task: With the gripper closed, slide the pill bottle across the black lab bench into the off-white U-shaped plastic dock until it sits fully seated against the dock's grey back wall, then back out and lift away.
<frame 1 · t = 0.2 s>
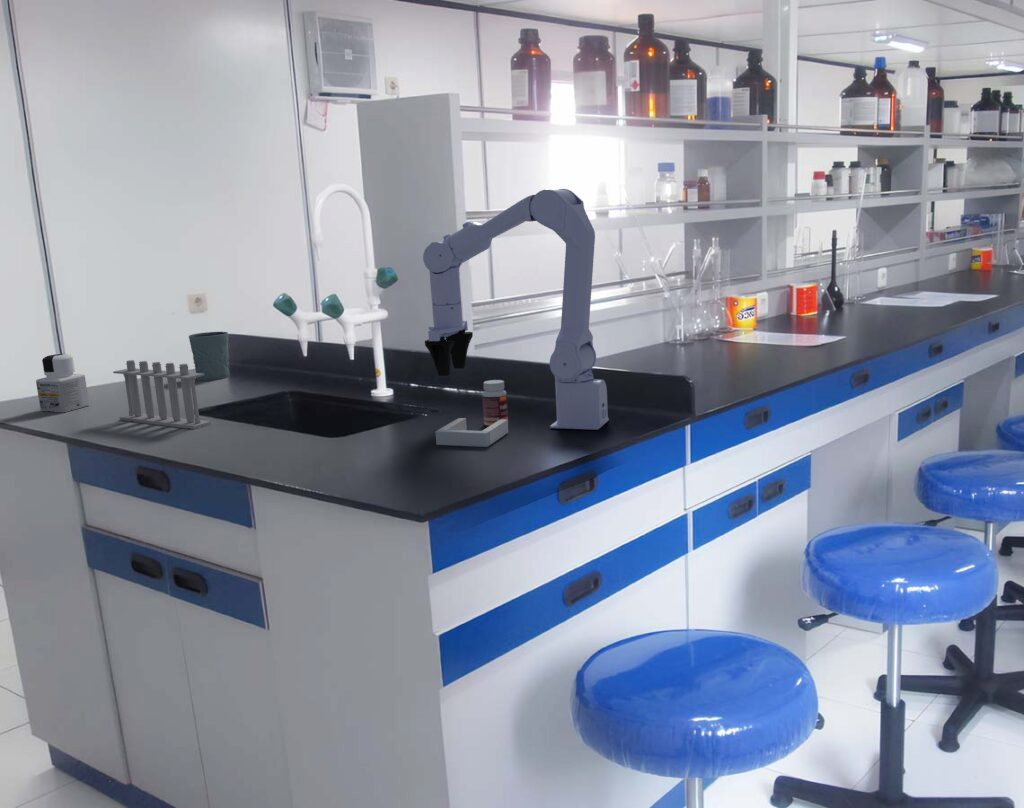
hand: (451, 371, 189), 10 cm above the worktop, tool pointing down, fingers open, 7 cm apart
square dock: (474, 437, 175), on the worktop
test tube rack: (164, 423, 205), on the worktop
dark green cup: (214, 378, 258), on the worktop
pill bottle: (496, 424, 186), on the worktop
container: (65, 409, 226), on the worktop
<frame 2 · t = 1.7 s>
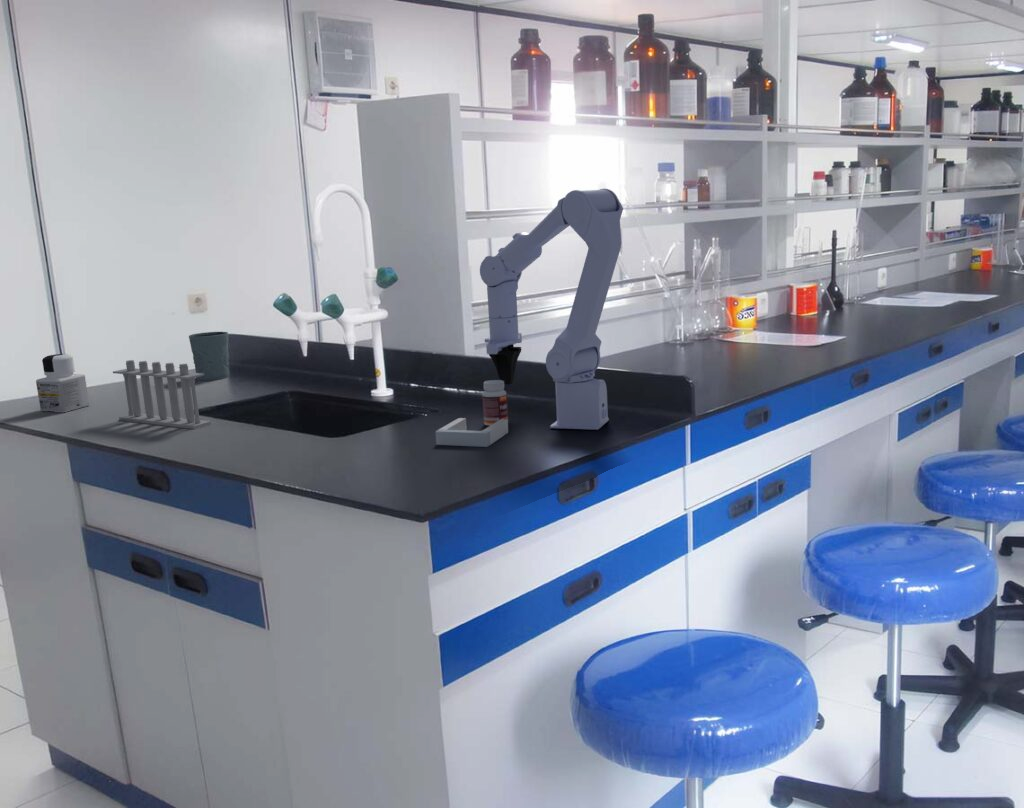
hand: (506, 383, 191), 7 cm above the worktop, tool pointing down, fingers closed
nothing on the worktop moved.
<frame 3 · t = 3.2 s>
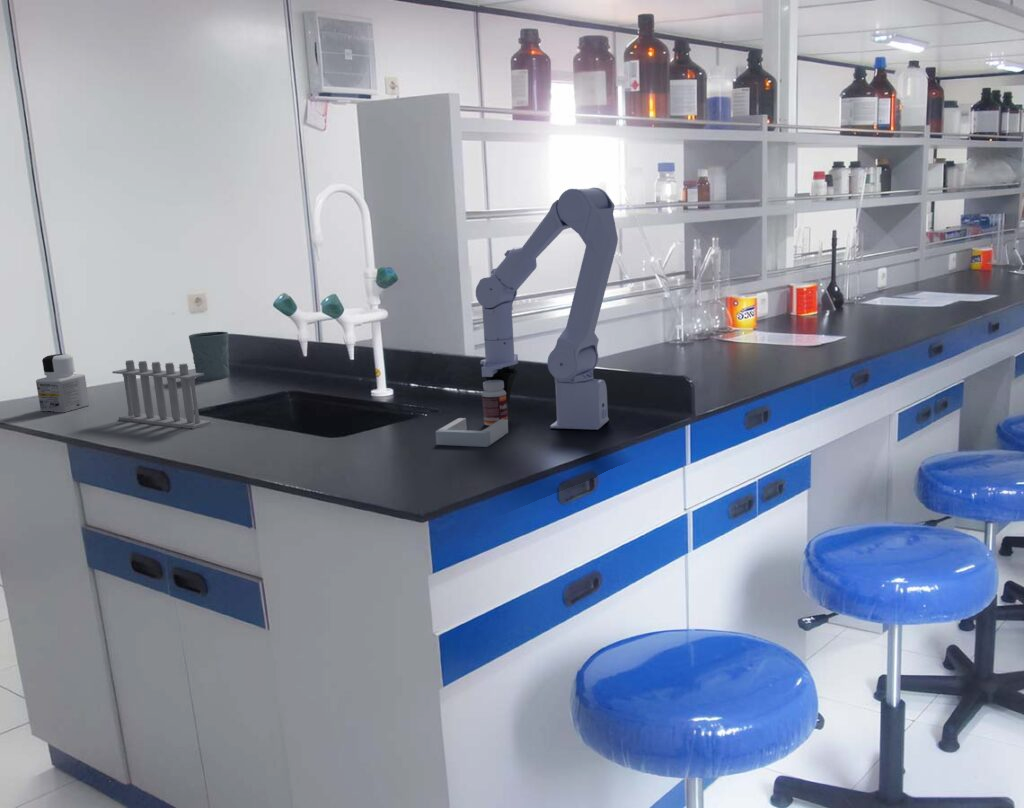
hand: (502, 405, 189), 3 cm above the worktop, tool pointing down, fingers closed
pill bottle: (496, 424, 186), on the worktop, touching gripper
everything else where it was.
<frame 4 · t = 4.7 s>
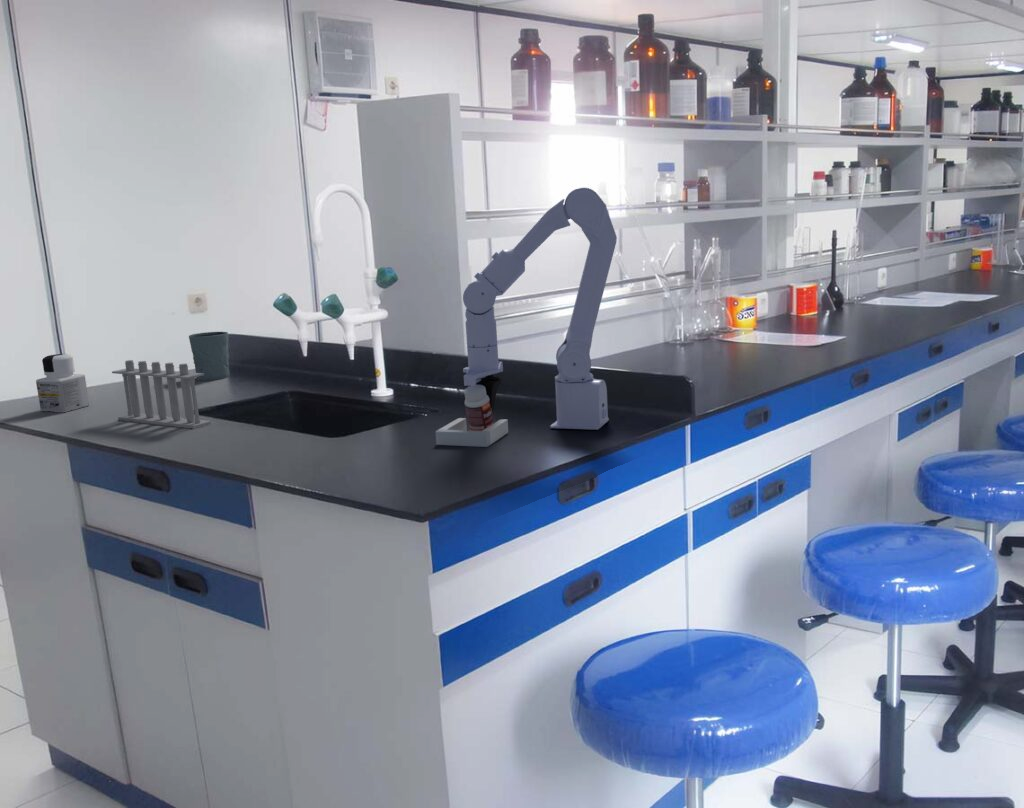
hand: (486, 415, 181), 3 cm above the worktop, tool pointing down, fingers closed
pill bottle: (482, 429, 179), point 1 cm above the worktop, touching gripper
everything else where it was.
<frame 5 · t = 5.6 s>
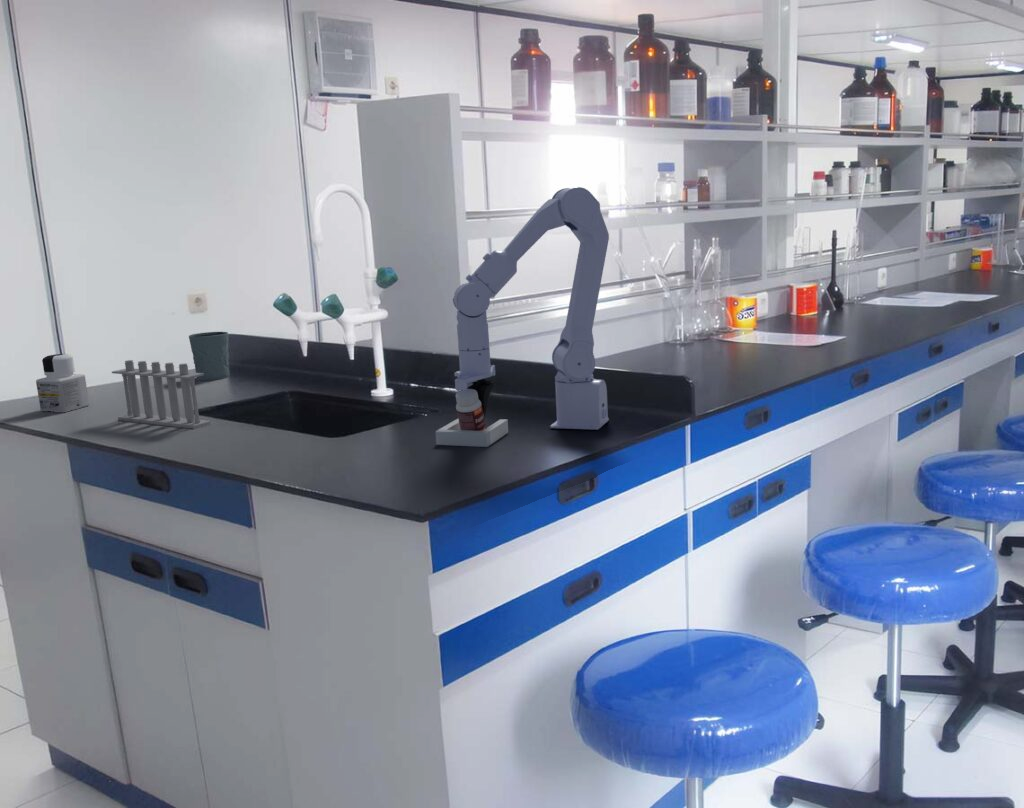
hand: (478, 420, 177), 3 cm above the worktop, tool pointing down, fingers closed, pressing on pill bottle
pill bottle: (474, 434, 176), point 1 cm above the worktop, touching gripper
everything else where it was.
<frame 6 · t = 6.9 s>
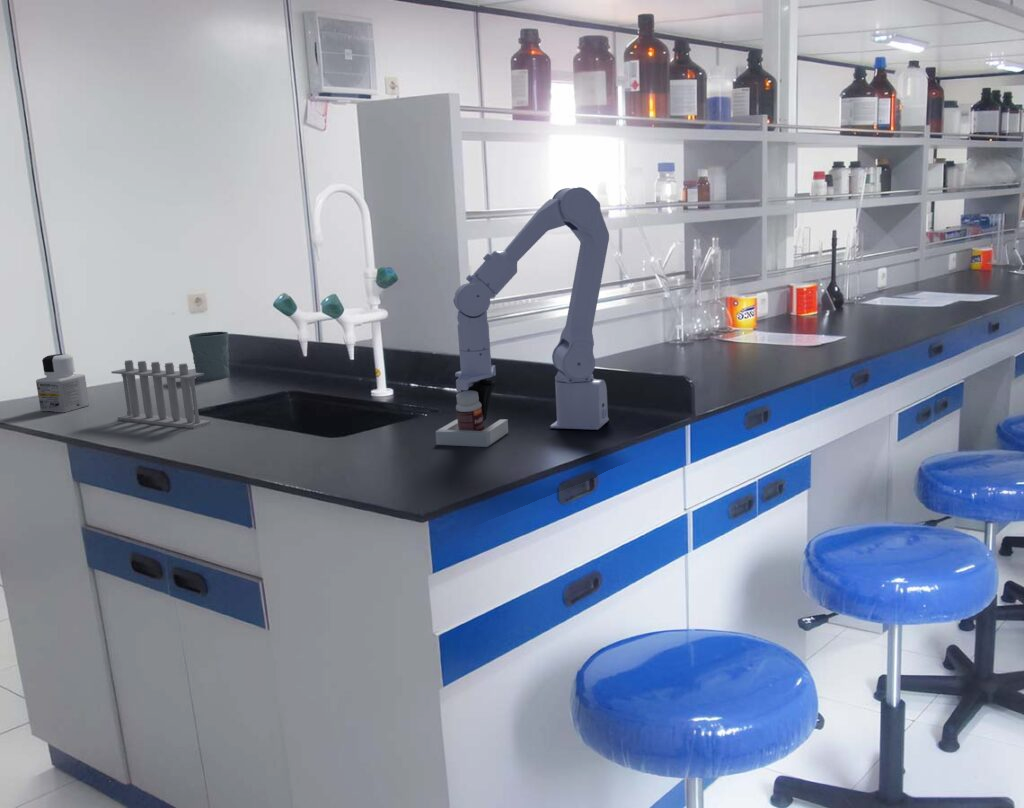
hand: (479, 420, 177), 3 cm above the worktop, tool pointing down, fingers closed
pill bottle: (472, 437, 175), resting in square dock, touching gripper
everything else where it was.
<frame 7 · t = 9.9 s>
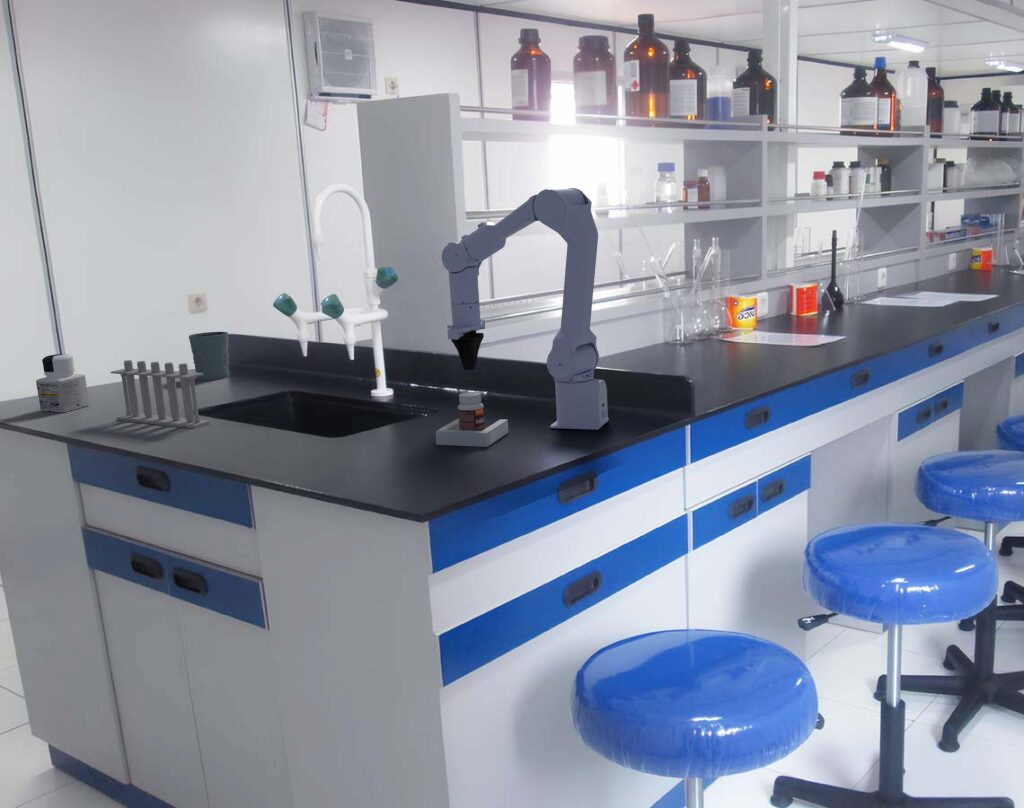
hand: (469, 369, 193), 9 cm above the worktop, tool pointing down, fingers closed
pill bottle: (473, 439, 175), resting in square dock
everything else where it was.
at the end: pill bottle 0.6 cm from the target spot on the square dock, point 0.0 cm above the square dock's base; pill bottle tilted 0°; pill bottle moved 11.6 cm from its start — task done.
